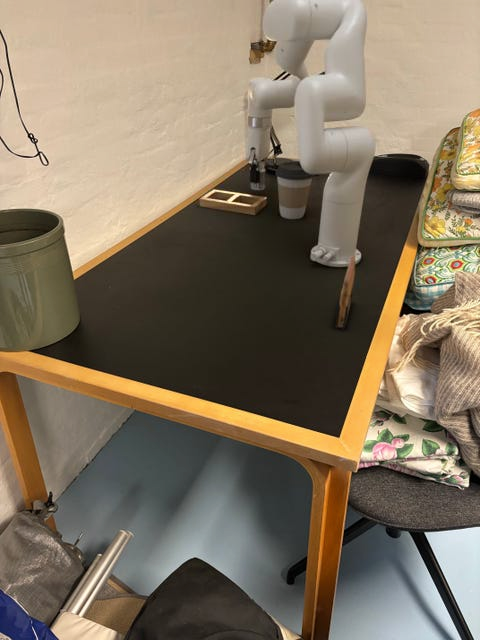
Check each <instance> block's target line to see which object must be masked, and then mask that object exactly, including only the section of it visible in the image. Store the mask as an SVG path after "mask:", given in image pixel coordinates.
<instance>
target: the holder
mask: <svg viewBox="0 0 480 640" xmlns="http://www.w3.org/2000/svg"><path fill="white" fill-rule="evenodd" d="M198 200H199V201H198V202H199V207H201V208H206V209H207V208H208V209H214V210H220V211H226V212H232V213H239V214H243V215H244V214H245V215H251V216H256V215H257V214H258V213H259V212H260V211H261V210H262V209H264V208H265V207H266V206H267V200H268V198H267V197H266V196H259V195H252V194H247V193H240V192H234V191H227V190H219V189H212V190H210V191H209V192H207V193H206V194H204V195H203V196H201V197H199V199H198Z"/></svg>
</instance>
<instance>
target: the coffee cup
mask: <svg viewBox="0 0 480 640" xmlns="http://www.w3.org/2000/svg"><path fill="white" fill-rule="evenodd" d="M275 176H276V177H277V191H278V205H279V206H278V207H279V213H280V217H282V218H283V219H287V220H298V219H302V218H303V217H304V216H305V215H304V214H305V213H306V208H307V203H308V199H309V194H310V190H311V185H312V180H313V178H314V177H315V174H309V173H307V172H305V171H304V170H303V168H302V167H301V164H300V161H295V160H293V161H292V160H289V161H284V162H281V163H280V164H279V165H278V168H277V169H276V170H275Z"/></svg>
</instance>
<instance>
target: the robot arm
mask: <svg viewBox="0 0 480 640" xmlns="http://www.w3.org/2000/svg"><path fill="white" fill-rule="evenodd" d="M262 17H263V18H262V31H263V35H264V36H265V38H266V39H267V40H269V41H270V42H276V43H275V45H274V47H273V51H272V57H273V61H274V62H275V64H276V65H277V66H278V68H280V69H281V70H282V71H284V72H286V73H289V74H290V75H292V76H291V78H290V79H275V80H272V79H271V78H268V77H253V78H250V80H249V81H248V85H247V87H248V88H247V91H248V92H247V93H248V94H247V134H246V145H245V160H246V161H248V165H249V182H250V183H251V182H252V183H259V182H260V171H259V166H260V161H261V162H264V169H265V179H266V177H267V160H268V157H269V155H270V151H271V129H272V127H273V110H276V109H292V108H294V118H295V130H296V132H295V133H296V143H297V154H298V160H299V161H298V162H300V164H301V167H302V168H303V170H304V171H305V172H307V173H309V174H314V175H322V174H323V175H324V174H329V176H328V178H327V179H326V181H325V184H324V187H323V193H322V201H321V211H320V220H319V221H320V222H319V231H318V241H317V245H314V246H313V247H312V248H311V250H310V257H309V258H310V260H311V261H313V262H317V263H319V264H321V265H323V266H328V267H331V268H332V267H333V268H348V266H349V262H350V259H351V256H352V255H353V254H354V255H355V265H357V264H359V263H360V262H361V259H362V253H361V251H359V249H357V242H358V236H359V230H360V224H361V217H362V210H363V204H364V199H365V191H366V185H367V180H368V176H369V173H370V169H371V166H372V164H373V161H374V158H375V154H376V150H377V149H376V148H377V145H376V139H375V136H374V134H373V133H372V132H371V131H370V130H369V129H368V128H365V127H363V126H358V125H356V126H355V125H354V126H353V125H351V126H349V125H348V126H337V127H327V128H325V123H331V122H343V121H352V120H356V119H357V118H359V117H361V116H362V114H363V113H364V112H365V109H366V104H367V89H366V88H367V87H366V66H365V65H366V63H365V42H366V35H367V29H368V13H367V9H366V6H365V4H364V3H363V2H362V0H272V1H271V2H269V4H268V5H267V7H266V9H265V11H264V12H263V16H262ZM323 40H324V41H325V40H327V41H328V40H329V42H328V43H327V46H326V48H325V51H324V55H323V56H324V57H323V60H324V62H323V63H324V74H313V75H309V72H308V67H307V65H306V63H305V60H306V59H307V57H308V55H309V52H310V51H311V49H312V46H313V45H314V42H315V41H323ZM254 162H255V163H257V166H256V164H254Z"/></svg>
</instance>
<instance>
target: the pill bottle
mask: <svg viewBox="0 0 480 640" xmlns="http://www.w3.org/2000/svg"><path fill="white" fill-rule="evenodd" d="M254 164H256V166H257V163H255V162H254ZM259 171H260V182H259V183H252V182H250V189H251V190H253V191H262V190H264V189H266V178H265V169H264V162H261V161H260V166H259Z"/></svg>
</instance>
